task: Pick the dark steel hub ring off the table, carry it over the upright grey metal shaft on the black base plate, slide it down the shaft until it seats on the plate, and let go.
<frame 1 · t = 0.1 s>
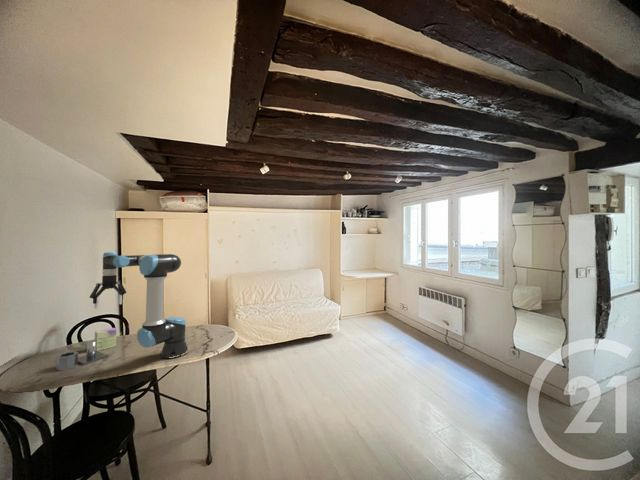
hand: (108, 306, 170), 28 cm above the table, fingers open, 13 cm apart
shaft stand: (91, 359, 153), on the table
hub: (67, 366, 143), on the table
box: (105, 348, 170), on the table
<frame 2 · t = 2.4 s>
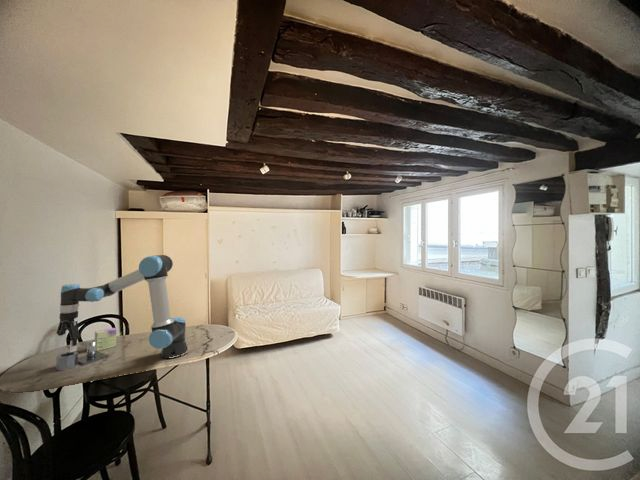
hand: (67, 348, 143), 10 cm above the table, fingers open, 13 cm apart
nothing on the table moved.
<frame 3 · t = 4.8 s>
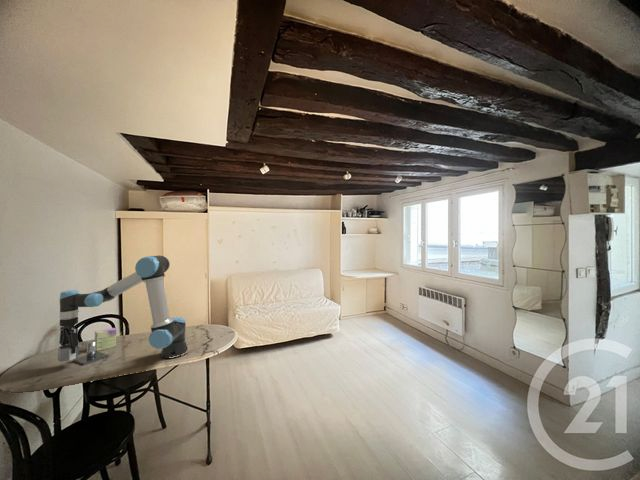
hand: (68, 357, 143), 5 cm above the table, fingers closed on hub, 8 cm apart
hub: (68, 358, 143), point 5 cm above the table, touching gripper
everything else where it was.
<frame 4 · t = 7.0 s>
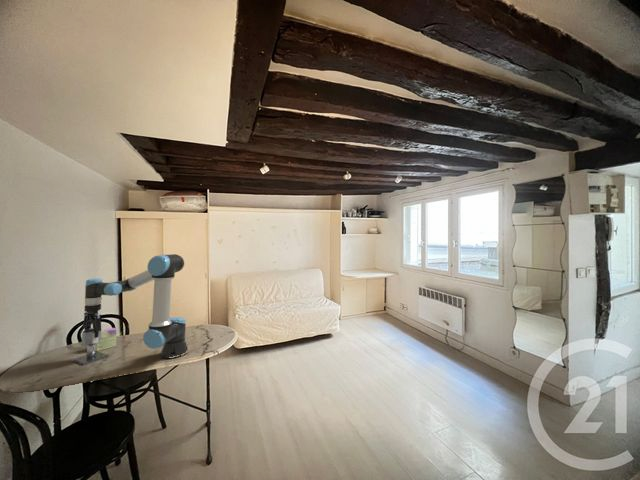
hand: (91, 341, 153), 11 cm above the table, fingers closed on hub, 8 cm apart
hub: (91, 341, 153), point 10 cm above the table, touching gripper
everything else where it was.
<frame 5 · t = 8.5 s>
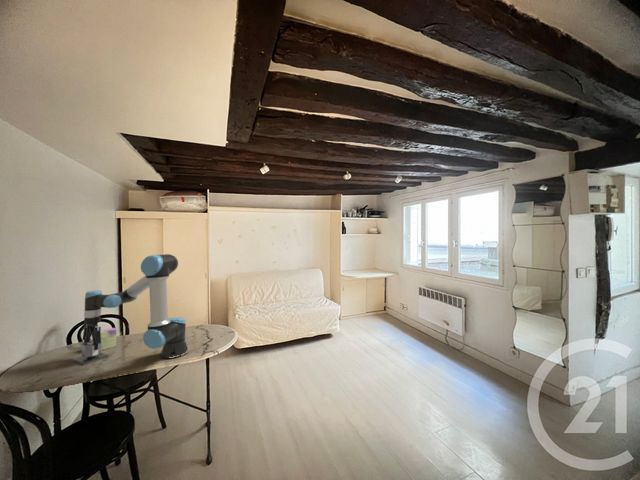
hand: (91, 353, 153), 3 cm above the table, fingers closed on hub, 8 cm apart
hub: (91, 354, 153), point 3 cm above the table, touching gripper
everything else where it was.
when the fingers open (2 cm above the table, at t = 9.6 s): hub stays where it is, resting on shaft stand.
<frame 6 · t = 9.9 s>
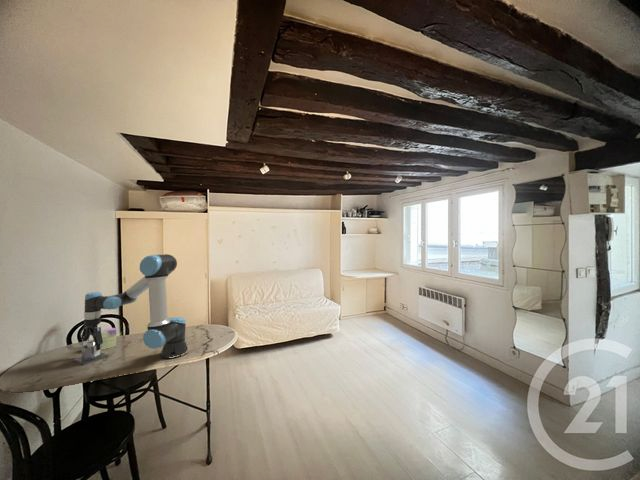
hand: (91, 353, 153), 3 cm above the table, fingers open, 12 cm apart
hub: (91, 357, 153), point 1 cm above the table, touching shaft stand
everything else where it was.
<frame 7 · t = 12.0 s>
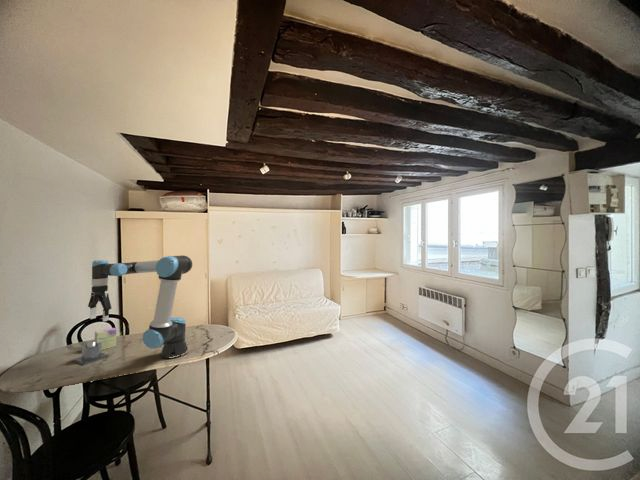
hand: (99, 319, 155), 24 cm above the table, fingers open, 13 cm apart
nothing on the table moved.
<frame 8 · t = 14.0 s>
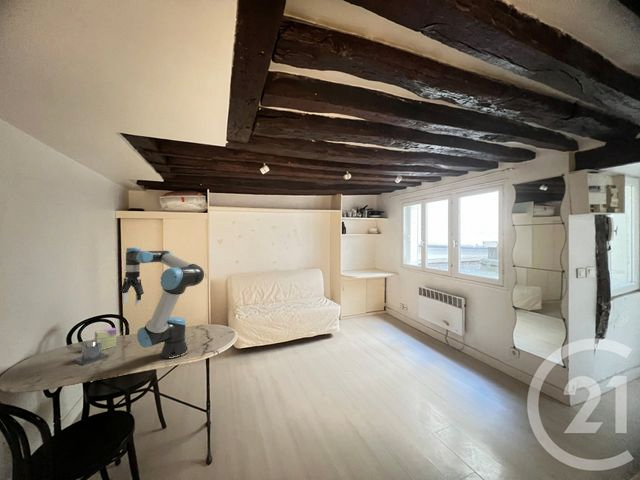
hand: (131, 304, 162), 32 cm above the table, fingers open, 13 cm apart
nothing on the table moved.
at the end: hub 0.1 cm off-centre on the shaft stand, point 1.2 cm above the shaft stand's base; hub tilted 0°; the gripper is holding nothing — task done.
